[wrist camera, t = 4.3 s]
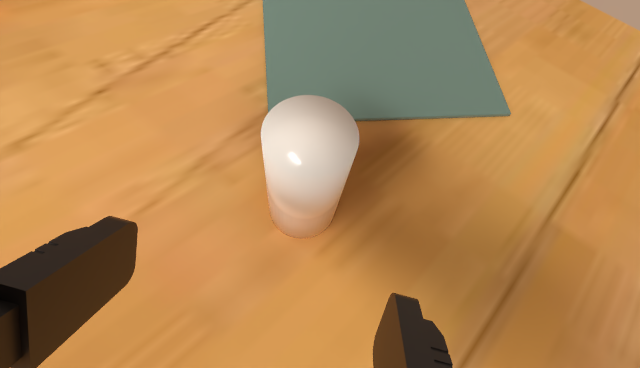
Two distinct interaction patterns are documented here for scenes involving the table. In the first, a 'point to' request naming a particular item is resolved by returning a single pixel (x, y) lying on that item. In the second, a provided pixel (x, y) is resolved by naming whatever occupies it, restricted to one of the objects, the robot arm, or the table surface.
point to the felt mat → (381, 58)
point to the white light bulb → (307, 162)
